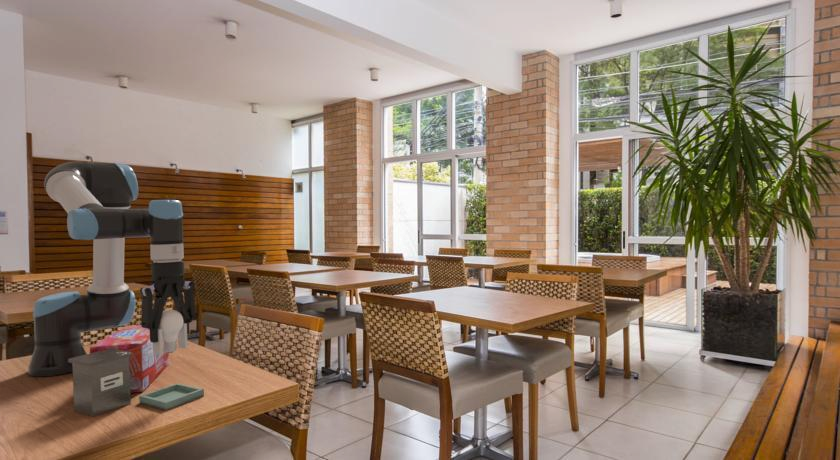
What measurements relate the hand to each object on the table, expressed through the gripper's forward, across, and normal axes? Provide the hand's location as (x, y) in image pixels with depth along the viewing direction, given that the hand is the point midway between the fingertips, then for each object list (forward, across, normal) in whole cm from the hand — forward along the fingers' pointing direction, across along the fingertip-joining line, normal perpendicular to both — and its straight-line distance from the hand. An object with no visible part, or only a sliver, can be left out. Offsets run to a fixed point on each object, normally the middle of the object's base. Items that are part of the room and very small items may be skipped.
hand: (170, 351), depth 127 cm
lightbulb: (+1, 0, 0) cm, 1 cm away
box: (+13, +6, +25) cm, 29 cm away
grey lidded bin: (+12, -11, +11) cm, 20 cm away
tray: (+13, 0, 0) cm, 13 cm away
